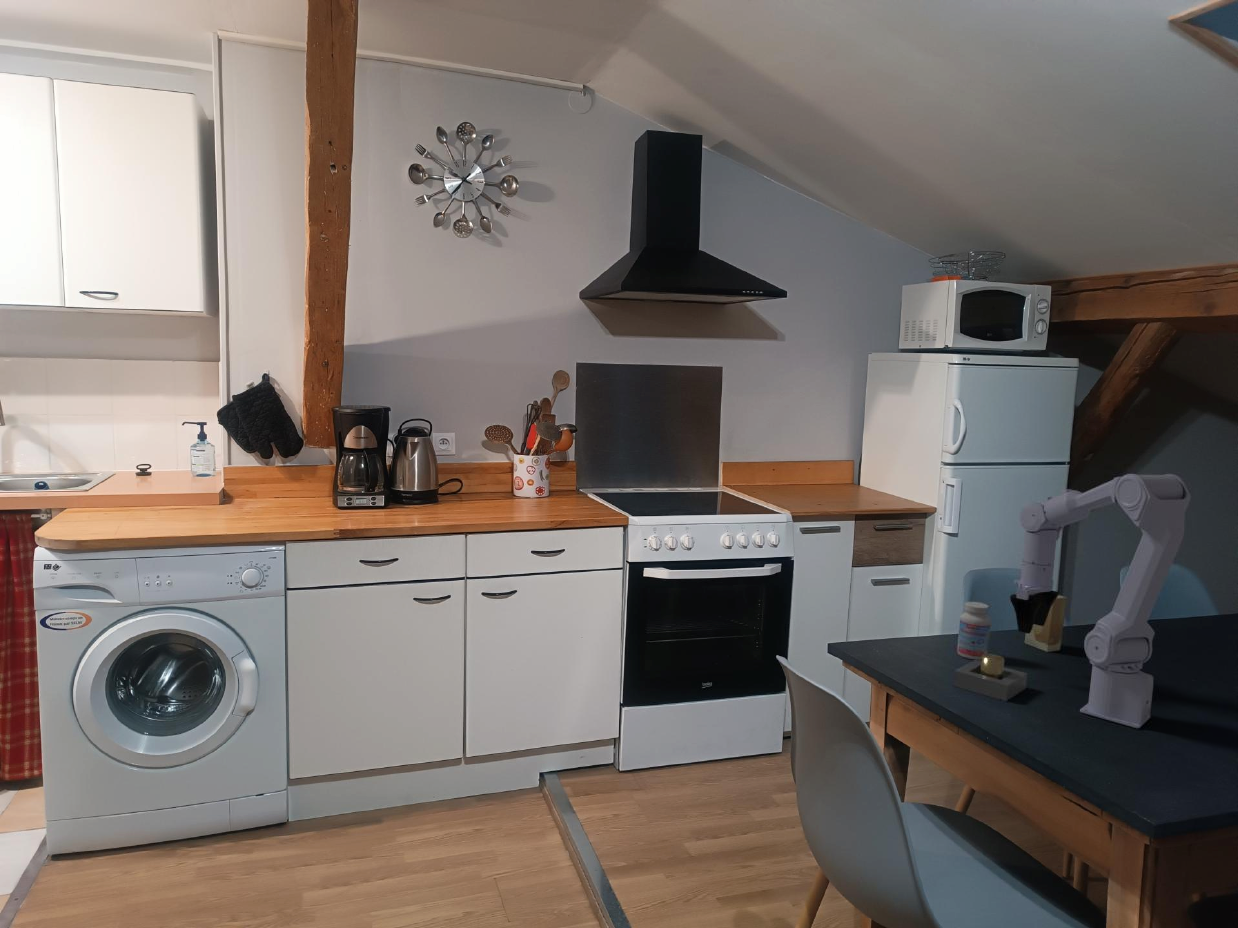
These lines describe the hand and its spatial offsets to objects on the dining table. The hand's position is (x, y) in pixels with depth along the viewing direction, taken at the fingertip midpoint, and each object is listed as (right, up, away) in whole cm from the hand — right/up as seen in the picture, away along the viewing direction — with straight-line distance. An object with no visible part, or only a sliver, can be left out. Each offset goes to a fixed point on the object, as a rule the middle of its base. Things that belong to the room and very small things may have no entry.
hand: (1031, 628), depth 175 cm
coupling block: (-12, -10, -7) cm, 17 cm away
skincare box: (+11, -8, +19) cm, 23 cm away
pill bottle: (-8, -8, +11) cm, 15 cm away
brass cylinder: (-12, -10, -8) cm, 17 cm away
